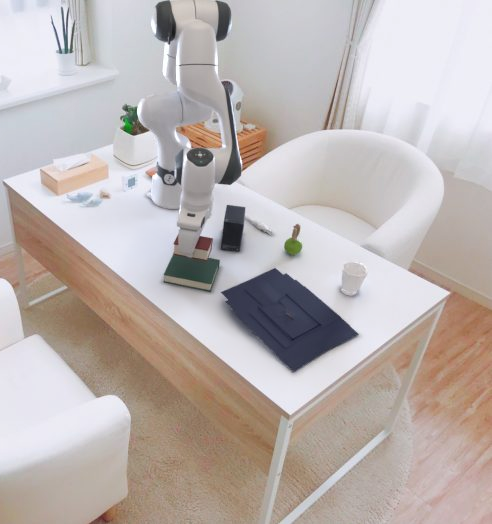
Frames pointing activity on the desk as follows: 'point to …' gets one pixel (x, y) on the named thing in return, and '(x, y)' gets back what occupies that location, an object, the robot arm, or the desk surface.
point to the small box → (233, 228)
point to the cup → (352, 277)
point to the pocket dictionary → (197, 248)
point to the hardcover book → (192, 272)
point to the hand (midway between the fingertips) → (192, 248)
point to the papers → (288, 317)
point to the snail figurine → (293, 242)
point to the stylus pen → (259, 225)
